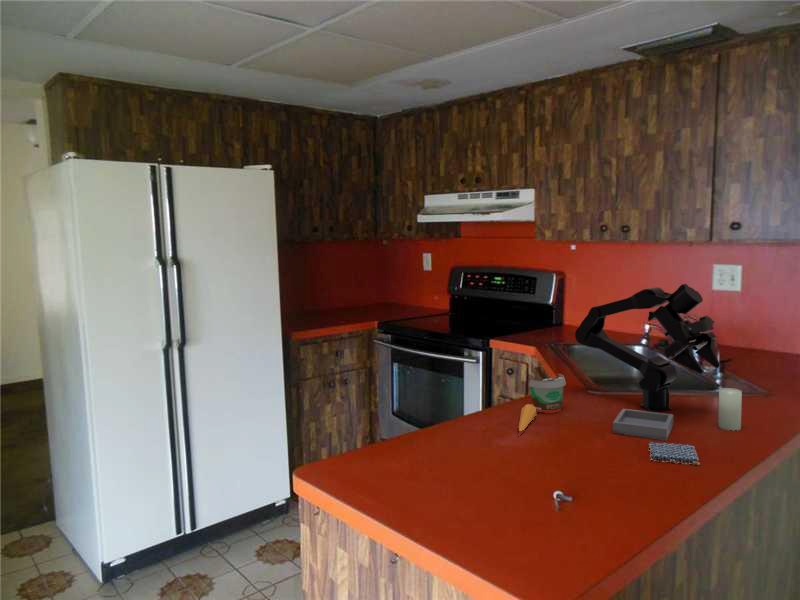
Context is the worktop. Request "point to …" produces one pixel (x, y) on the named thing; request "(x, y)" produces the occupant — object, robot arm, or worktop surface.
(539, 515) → the worktop surface
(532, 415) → the carrot
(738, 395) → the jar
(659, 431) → the tray
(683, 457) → the woven mat
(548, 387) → the food container
